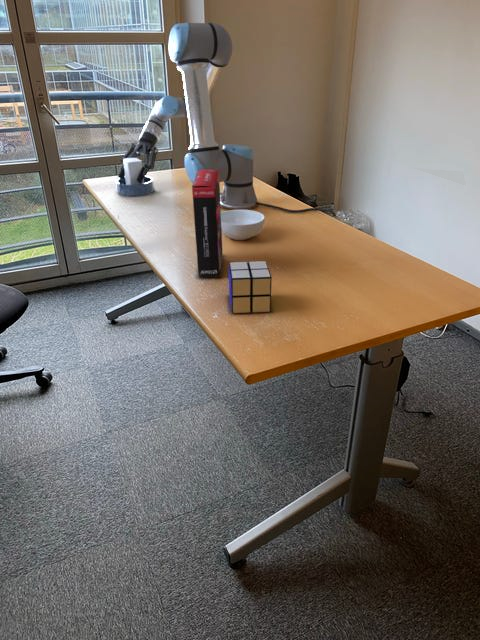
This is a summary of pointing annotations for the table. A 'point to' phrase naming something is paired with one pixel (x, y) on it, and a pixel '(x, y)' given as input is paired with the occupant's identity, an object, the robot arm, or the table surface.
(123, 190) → the bowl
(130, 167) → the small box
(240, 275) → the puzzle cube
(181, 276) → the table surface
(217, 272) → the graphics card box
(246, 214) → the cereal bowl
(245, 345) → the table surface
